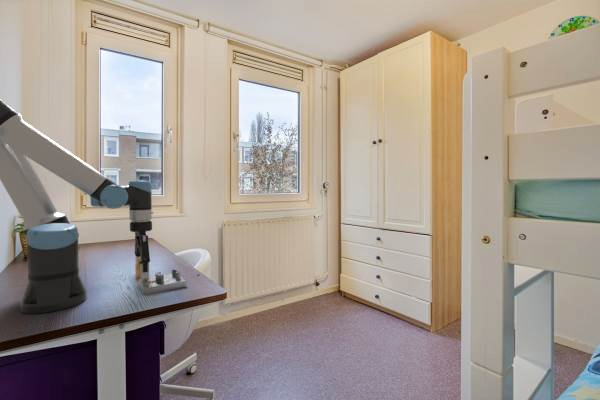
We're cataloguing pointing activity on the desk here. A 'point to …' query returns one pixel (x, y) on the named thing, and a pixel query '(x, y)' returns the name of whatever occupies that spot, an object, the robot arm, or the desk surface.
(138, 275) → the beige block
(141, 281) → the junction plate
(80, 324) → the desk surface
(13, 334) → the desk surface
